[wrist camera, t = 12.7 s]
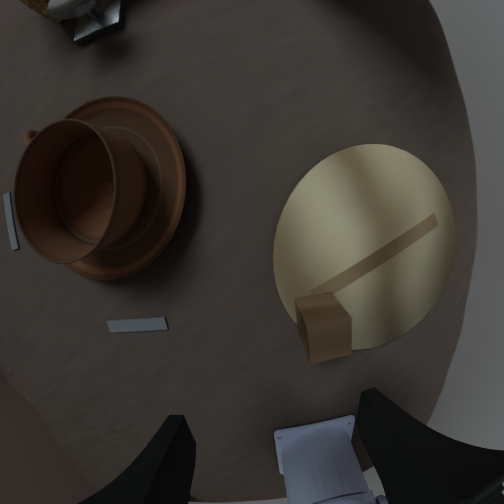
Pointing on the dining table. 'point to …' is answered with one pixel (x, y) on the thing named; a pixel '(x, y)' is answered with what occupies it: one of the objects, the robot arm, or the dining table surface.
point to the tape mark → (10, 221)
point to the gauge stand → (89, 16)
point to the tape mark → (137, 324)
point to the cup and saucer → (101, 188)
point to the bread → (40, 8)
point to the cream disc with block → (362, 249)
